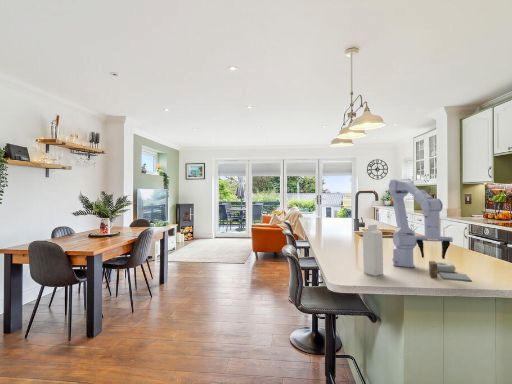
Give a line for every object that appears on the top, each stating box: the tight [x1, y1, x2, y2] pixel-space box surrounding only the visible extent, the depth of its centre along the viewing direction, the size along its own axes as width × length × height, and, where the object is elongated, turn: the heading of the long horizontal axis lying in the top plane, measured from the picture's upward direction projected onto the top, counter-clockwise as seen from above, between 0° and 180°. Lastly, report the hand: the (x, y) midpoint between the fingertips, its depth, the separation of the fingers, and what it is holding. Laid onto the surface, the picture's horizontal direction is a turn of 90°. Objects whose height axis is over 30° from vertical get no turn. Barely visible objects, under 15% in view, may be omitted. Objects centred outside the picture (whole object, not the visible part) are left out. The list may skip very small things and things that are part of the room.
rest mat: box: [438, 272, 473, 282], centre depth 125 cm, size 10×10×1 cm
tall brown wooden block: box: [428, 260, 439, 279], centre depth 127 cm, size 2×6×6 cm, turn 155°
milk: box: [362, 224, 384, 277], centre depth 133 cm, size 6×6×22 cm
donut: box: [435, 261, 457, 273], centre depth 136 cm, size 10×4×10 cm
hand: (432, 257), depth 127 cm, fingers open, 7 cm apart
